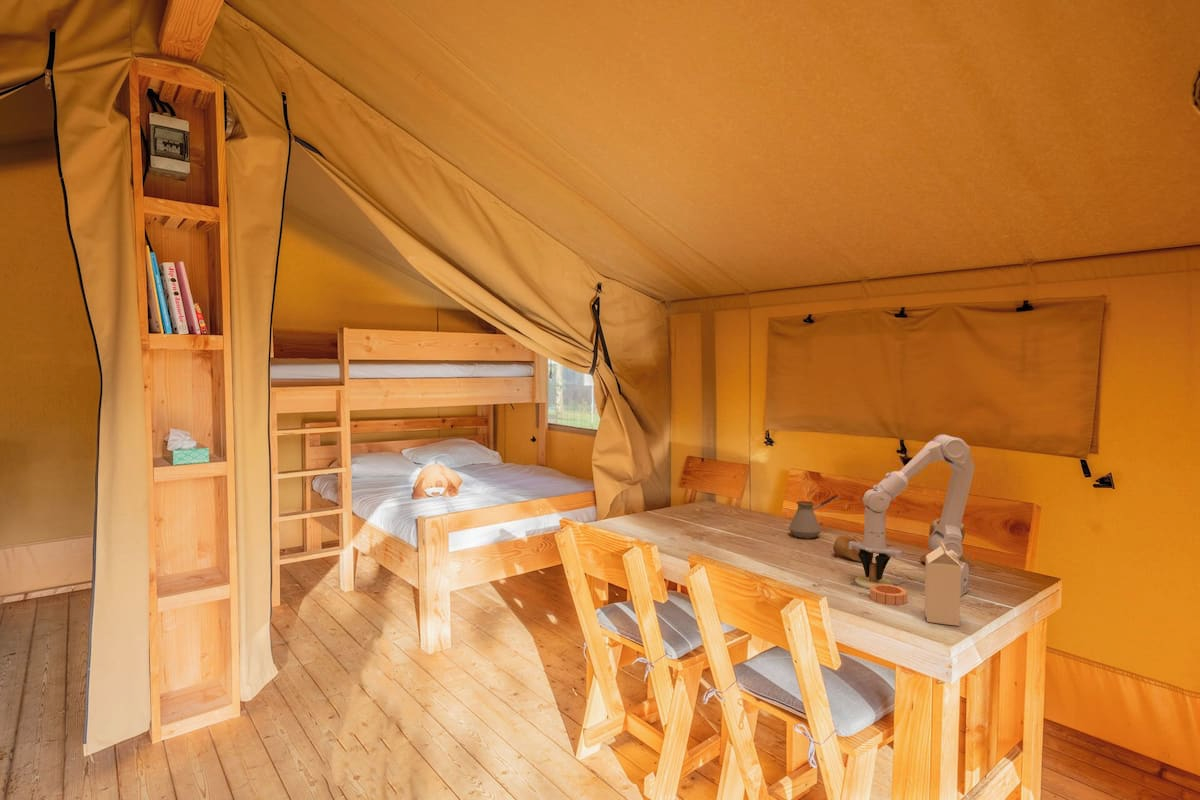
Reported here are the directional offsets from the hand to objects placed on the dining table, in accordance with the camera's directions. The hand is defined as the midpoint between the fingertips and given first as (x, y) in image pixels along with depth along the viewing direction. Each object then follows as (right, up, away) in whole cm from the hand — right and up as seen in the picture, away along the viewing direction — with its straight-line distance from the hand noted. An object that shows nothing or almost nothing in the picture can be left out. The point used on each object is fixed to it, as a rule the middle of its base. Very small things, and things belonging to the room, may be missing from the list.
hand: (873, 577), depth 191 cm
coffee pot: (+2, 0, +59) cm, 59 cm away
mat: (0, -2, 0) cm, 2 cm away
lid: (0, -2, 0) cm, 2 cm away
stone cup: (+32, -2, +21) cm, 39 cm away
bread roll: (+4, -2, +28) cm, 28 cm away
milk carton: (+6, -4, -25) cm, 27 cm away
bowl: (-1, -3, -12) cm, 12 cm away
